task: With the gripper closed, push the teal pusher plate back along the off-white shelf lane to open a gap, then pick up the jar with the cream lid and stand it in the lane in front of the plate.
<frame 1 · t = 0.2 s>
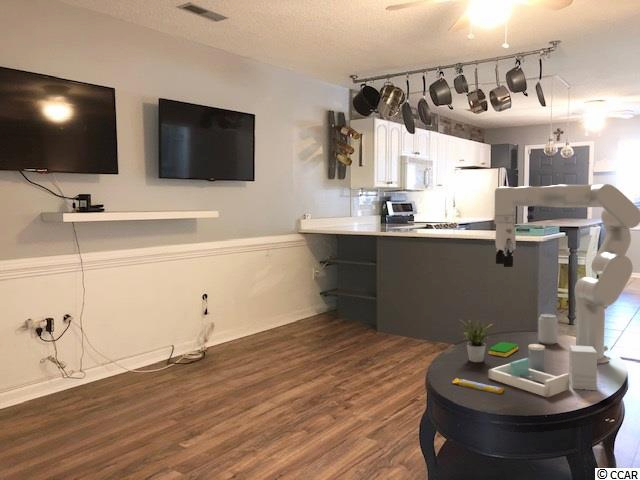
hand: (504, 265, 194), 37 cm above the table, tool pointing down, fingers open, 9 cm apart
supplement box: (582, 386, 169), on the table
candy bar: (478, 389, 170), on the table
dish sponge: (503, 352, 209), on the table
jar: (536, 370, 185), on the table
can: (547, 342, 221), on the table
lane: (527, 383, 172), on the table
house plant: (472, 360, 199), on the table
pusher: (524, 372, 173), point 4 cm above the table, slide at 0.0 cm
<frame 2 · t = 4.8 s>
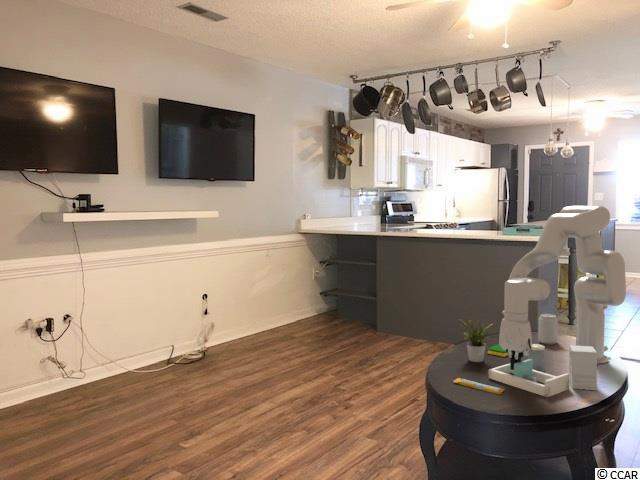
hand: (515, 369, 176), 4 cm above the table, tool pointing down, fingers closed
pusher: (528, 373, 172), point 4 cm above the table, slide at 1.4 cm, touching gripper
everything else where it was.
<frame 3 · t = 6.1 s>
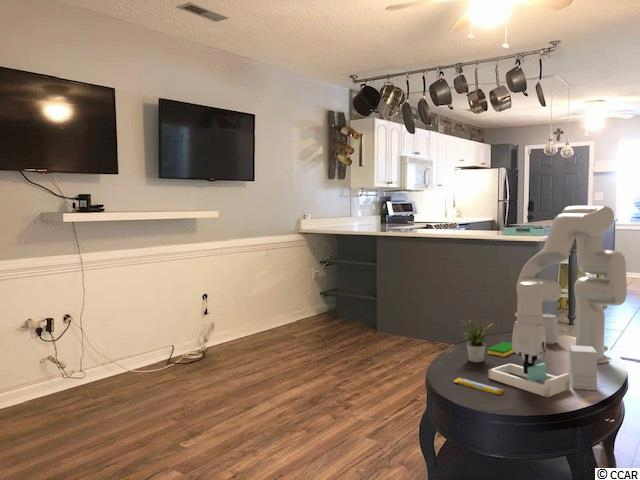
hand: (528, 373, 172), 4 cm above the table, tool pointing down, fingers closed
pusher: (542, 377, 168), point 4 cm above the table, slide at 6.4 cm, touching gripper
everything else where it was.
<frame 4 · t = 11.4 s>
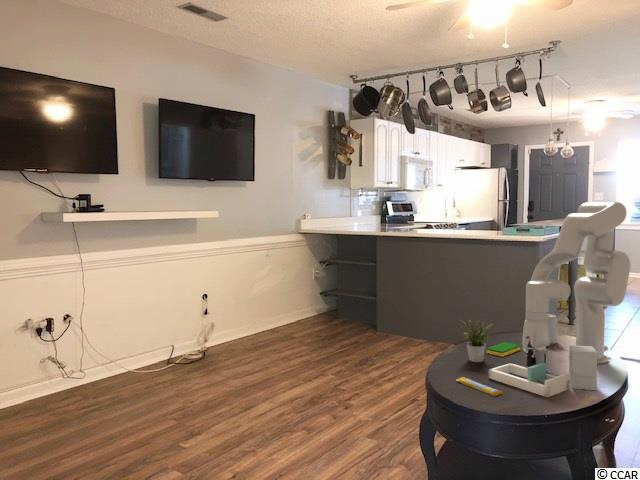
hand: (536, 365, 185), 2 cm above the table, tool pointing down, fingers closed on jar, 5 cm apart
jar: (536, 370, 185), on the table, touching gripper
pusher: (542, 377, 168), point 4 cm above the table, slide at 6.5 cm
when the fingers open (3 cm above the table, at t = 17.5 s): jar drops 1 cm, resting in lane.
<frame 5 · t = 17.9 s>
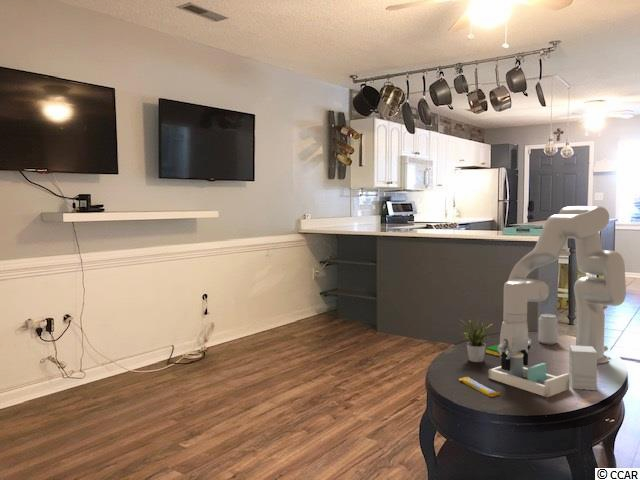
hand: (514, 367, 176), 4 cm above the table, tool pointing down, fingers open, 9 cm apart
jar: (514, 379, 177), resting in lane
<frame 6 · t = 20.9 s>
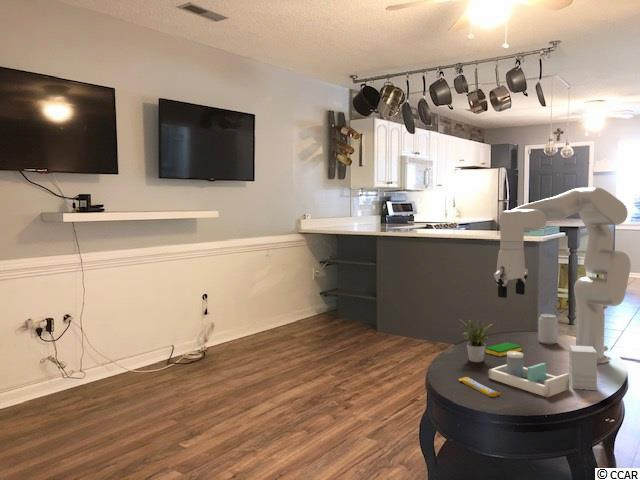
hand: (511, 295, 178), 28 cm above the table, tool pointing down, fingers open, 9 cm apart
at the end: jar inside the target area on the lane (1.3 cm from its centre), point 0.0 cm above the lane's base; jar tilted 0°; pusher slide at 6.5 cm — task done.
